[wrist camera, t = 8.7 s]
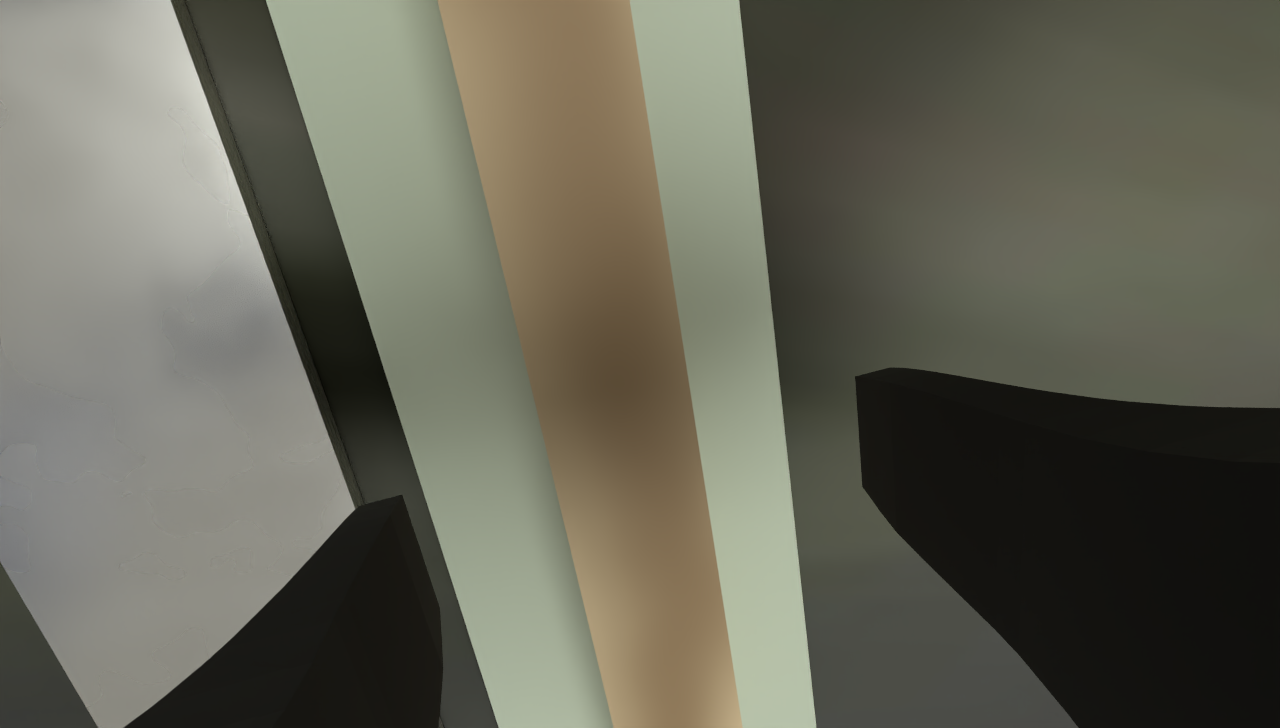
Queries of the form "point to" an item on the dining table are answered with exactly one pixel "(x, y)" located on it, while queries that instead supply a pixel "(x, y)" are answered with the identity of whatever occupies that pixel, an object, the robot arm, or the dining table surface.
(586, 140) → the rail
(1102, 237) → the dining table surface
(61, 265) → the rack
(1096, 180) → the dining table surface
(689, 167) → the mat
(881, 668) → the dining table surface
